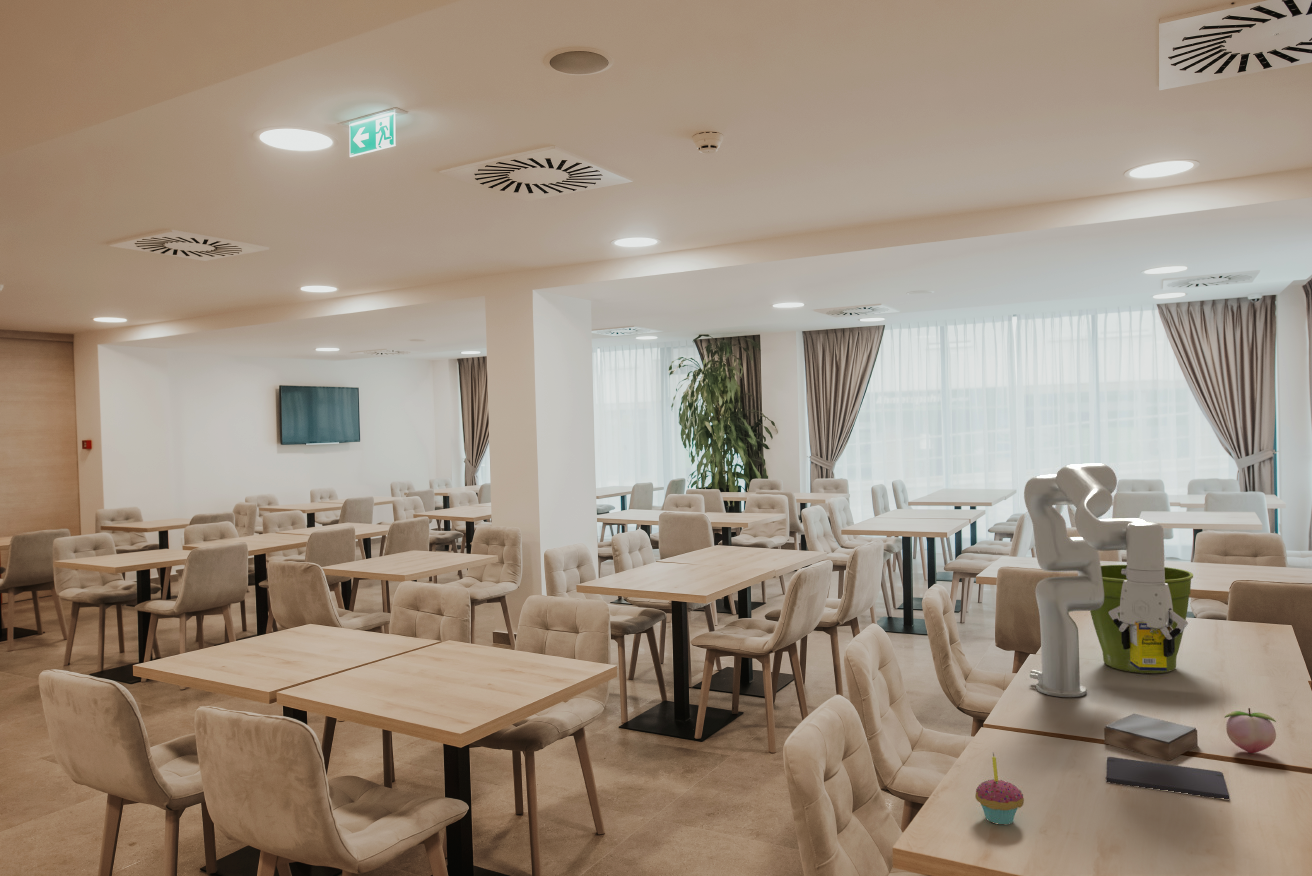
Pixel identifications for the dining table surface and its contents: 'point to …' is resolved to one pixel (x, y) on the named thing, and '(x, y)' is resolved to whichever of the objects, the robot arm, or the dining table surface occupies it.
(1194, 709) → the dining table surface
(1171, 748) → the dock
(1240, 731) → the decorative fruit
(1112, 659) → the plant pot
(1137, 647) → the supplement box
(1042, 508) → the robot arm
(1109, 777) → the notebook
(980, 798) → the cupcake
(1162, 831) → the dining table surface
